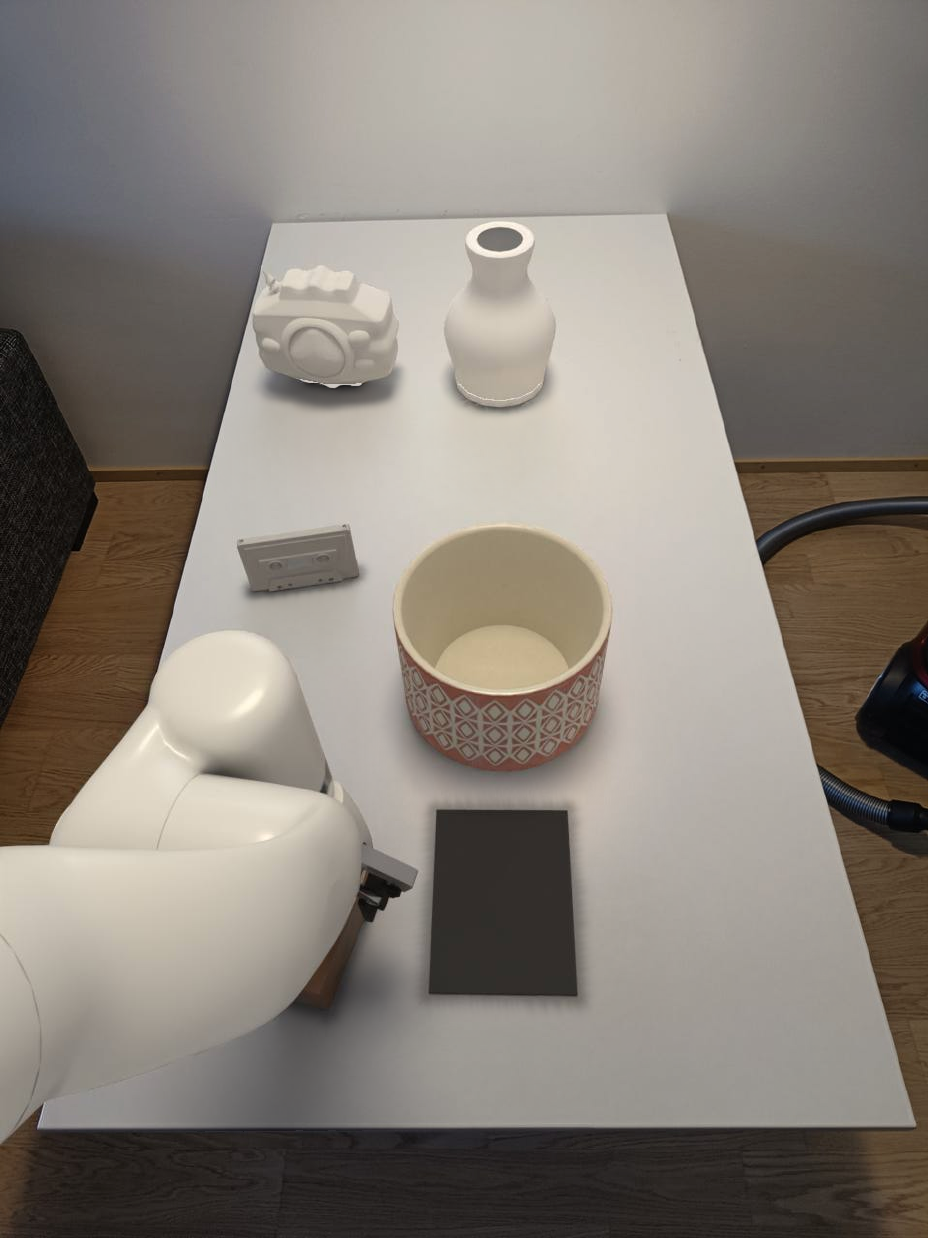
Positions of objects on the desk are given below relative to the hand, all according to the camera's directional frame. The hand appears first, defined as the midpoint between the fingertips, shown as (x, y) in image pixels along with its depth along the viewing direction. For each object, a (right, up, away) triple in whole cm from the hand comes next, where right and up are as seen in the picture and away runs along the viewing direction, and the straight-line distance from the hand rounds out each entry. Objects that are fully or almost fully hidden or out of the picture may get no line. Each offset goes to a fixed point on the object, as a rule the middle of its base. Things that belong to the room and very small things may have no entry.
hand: (316, 884), depth 67 cm
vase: (+16, +52, +52) cm, 76 cm away
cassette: (-6, +24, +31) cm, 40 cm away
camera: (-6, +52, +53) cm, 74 cm away
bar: (0, -6, +8) cm, 10 cm away
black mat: (+15, -4, +9) cm, 18 cm away
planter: (+15, +13, +22) cm, 29 cm away
